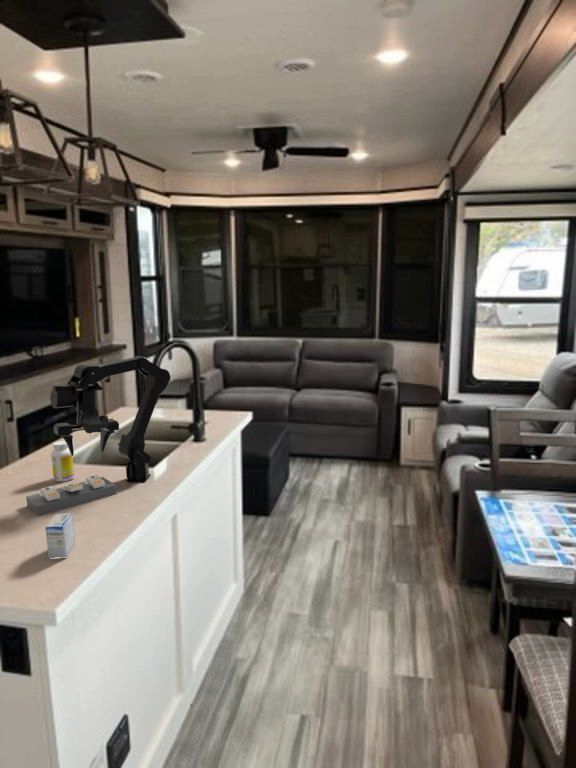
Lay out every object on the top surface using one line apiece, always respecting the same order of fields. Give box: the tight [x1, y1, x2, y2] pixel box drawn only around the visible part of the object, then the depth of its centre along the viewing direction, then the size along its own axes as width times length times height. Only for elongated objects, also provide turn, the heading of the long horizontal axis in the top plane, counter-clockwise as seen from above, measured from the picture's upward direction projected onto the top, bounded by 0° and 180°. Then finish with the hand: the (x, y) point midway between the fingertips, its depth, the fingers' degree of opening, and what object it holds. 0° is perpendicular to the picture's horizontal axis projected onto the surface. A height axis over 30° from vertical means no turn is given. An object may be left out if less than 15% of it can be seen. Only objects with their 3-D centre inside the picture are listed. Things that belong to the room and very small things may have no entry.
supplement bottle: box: [50, 440, 75, 483], centre depth 194 cm, size 7×7×13 cm
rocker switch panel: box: [25, 476, 117, 517], centre depth 176 cm, size 24×10×4 cm, turn 131°
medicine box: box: [45, 513, 76, 559], centre depth 143 cm, size 8×4×9 cm, turn 5°
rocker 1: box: [39, 485, 60, 501], centre depth 170 cm, size 6×4×1 cm, turn 42°
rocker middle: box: [63, 482, 83, 492], centre depth 175 cm, size 6×4×1 cm, turn 41°
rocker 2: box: [85, 474, 105, 489], centre depth 179 cm, size 6×4×1 cm, turn 42°
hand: (87, 453), depth 180 cm, fingers open, 9 cm apart
